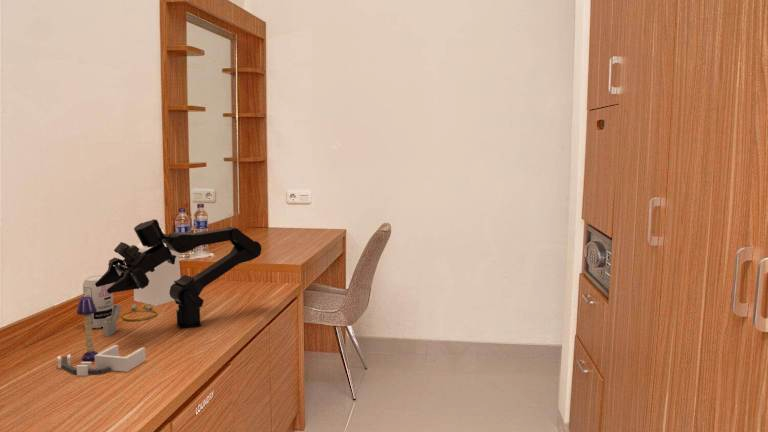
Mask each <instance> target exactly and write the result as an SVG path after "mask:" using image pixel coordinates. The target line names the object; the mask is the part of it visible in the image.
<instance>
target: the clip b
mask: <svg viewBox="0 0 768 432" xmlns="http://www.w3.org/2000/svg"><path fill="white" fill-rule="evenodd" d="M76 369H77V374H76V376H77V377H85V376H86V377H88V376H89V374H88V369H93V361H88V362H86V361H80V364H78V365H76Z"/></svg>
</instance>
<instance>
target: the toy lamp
mask: <svg viewBox="0 0 768 432" xmlns="http://www.w3.org/2000/svg"><path fill="white" fill-rule="evenodd" d="M96 311H97V309H96V306H95V303H94V301H93V298H92V297H90V296H87V297H83V296H82V297H80V298H79V300H78V305H77V310H76V314H77V315H78V316H79V315H80V316H82V315H83V318H84V319H83V323H84V329H85V331H84V335H85V341H86V342H85V345H86V352H85V353H83V354H82V358H81V362H93V361H94V362H95V355H97V354H99V353H98V351H95V347H94V341H93V339H94V337H93V330H92V329H93V328H92V325H91V314H92V313H95V312H96Z"/></svg>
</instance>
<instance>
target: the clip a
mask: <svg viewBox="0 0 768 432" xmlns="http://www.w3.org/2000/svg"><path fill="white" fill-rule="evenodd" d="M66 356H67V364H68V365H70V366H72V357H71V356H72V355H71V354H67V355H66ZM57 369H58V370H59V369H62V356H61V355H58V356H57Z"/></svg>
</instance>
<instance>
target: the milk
mask: <svg viewBox="0 0 768 432" xmlns="http://www.w3.org/2000/svg"><path fill="white" fill-rule="evenodd" d="M161 230H162V232H163V234H165V232H164V229H163V228H161ZM163 244H164V245H165V247H167V246H166V244H165V243H163ZM136 246H137V247H138V248H139V252H142V253H143V252H144V251H146V250H148V249H149V248H151V247H147V246H143V245H142V243H141V241H140V242H139V243H138V244H137V245H136ZM170 251H171V253H172V255H175V256H176V258H175V264H171V263H168V262H167V261H165V262H164V263H162V264H160V265H159V266H157V267H155V268H154V269H155V271H153V272H150V271H149V272H147V273H146V276H147V277H148V279H149V284H148V286H146V287H145V288H143V289H141V288H139V289H133V301H135V302H139V303H143V304H150V306H151V305H152V306H154V307H155V306H156V307H157V306H160V305H164V304H168V303H172V302H175V300H174V299H172V298H171V296H170V287H171V286H172V285H173V284H174V283H175V282H174V281H176V280H179V279H180V278H181V277H182V276H181V267H180V255H179V254H180V253H178V252H175V251H172V250H170Z"/></svg>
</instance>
